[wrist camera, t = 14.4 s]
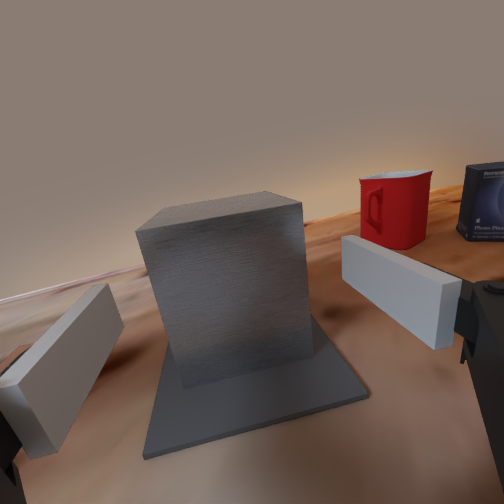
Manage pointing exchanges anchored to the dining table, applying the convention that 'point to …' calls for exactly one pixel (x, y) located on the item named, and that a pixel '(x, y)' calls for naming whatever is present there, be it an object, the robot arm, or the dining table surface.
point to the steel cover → (230, 284)
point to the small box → (482, 203)
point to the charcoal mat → (248, 398)
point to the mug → (395, 208)
